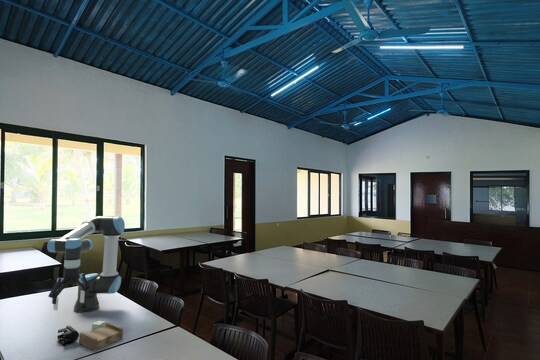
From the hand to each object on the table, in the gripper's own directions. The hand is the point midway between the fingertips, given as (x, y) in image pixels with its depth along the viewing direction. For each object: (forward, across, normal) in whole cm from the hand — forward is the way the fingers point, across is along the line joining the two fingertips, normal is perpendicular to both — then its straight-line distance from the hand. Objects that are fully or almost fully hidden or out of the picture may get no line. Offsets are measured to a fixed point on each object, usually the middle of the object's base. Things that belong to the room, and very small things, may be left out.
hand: (69, 306), depth 164 cm
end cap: (+19, 0, 0) cm, 19 cm away
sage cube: (+19, -16, +2) cm, 25 cm away
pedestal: (+19, -11, +14) cm, 26 cm away
